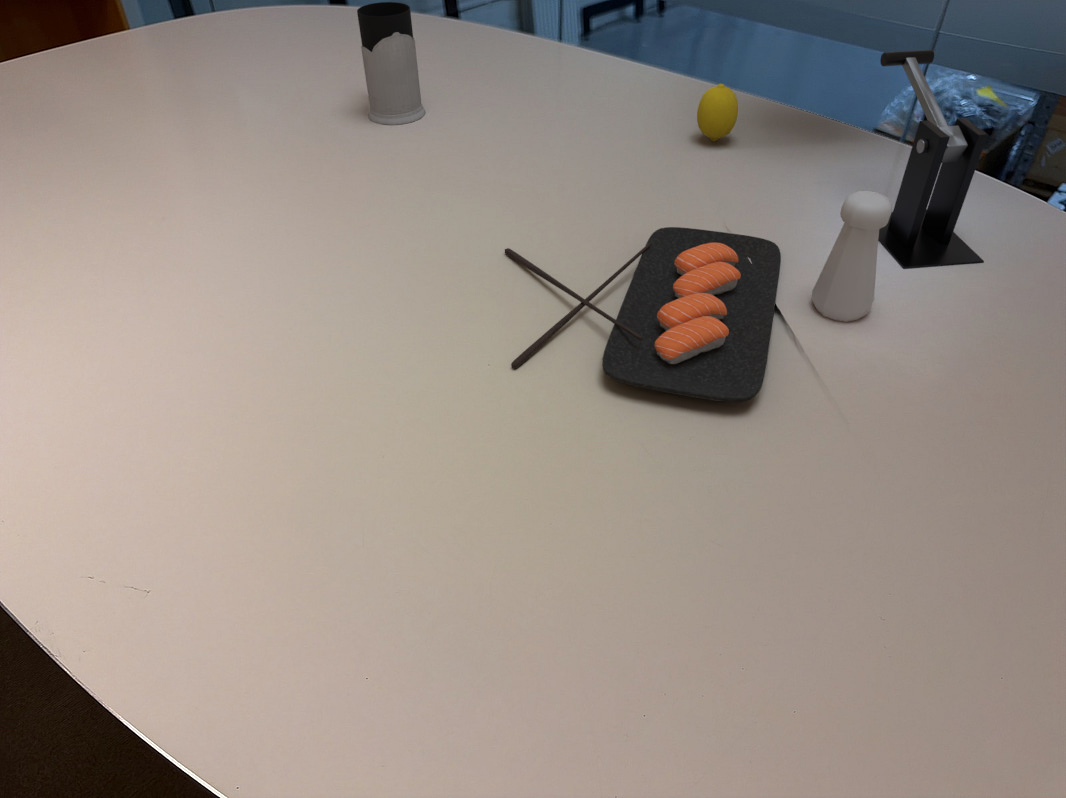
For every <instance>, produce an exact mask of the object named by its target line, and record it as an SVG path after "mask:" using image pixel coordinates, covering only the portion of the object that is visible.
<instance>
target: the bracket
mask: <svg viewBox="0 0 1066 798" xmlns="http://www.w3.org/2000/svg"><path fill="white" fill-rule="evenodd" d="M953 126H959V127H960V130H961V132H962V134H963V136H964V138H965V140H966V142H967V144H968V146H967V148H966V149H965V150H964V152H963V153H962V155H961V156H960V158H959V159H958V161H957V162H947V163H942V160H943V157H944V153H945V150H946V147H947V144H948V141H949V138H950V137H949V136H948V135H947V134H945V133H944V132H943V131H942V130H940V129H939V128H938V127H937V126H935V125H934V124H933V123H931V122H930V121H929V120H927V119H926V120H919V123H918V126H917V129H916V133H915V136H914V139H913V143H912V146H911V150H910V152H909V156H908V160H907V163H906V166H905V168H904V169H905V170H904V173H903V177H902V180H901V183H900V187H899V189H898V193H897V196H896V199H895V203H894V205H893V206H894V207H893V209H892V212H891V215H890V218H889V221H888V223H887V225H886V226H884V227H882V228H880V229H879V238H878V243H880V245H881V246H882V247H883V248H884V249H885V250H886V251H887V252H888V254H889V255H890V256H891V257H892V258H893V259H894V261H895V262H897V264H898V265H899V266H900V267H901V269H903V270H908V269H909V270H910V269H911V270H912V269H922V268H935V267H936V268H937V267H949V266H950V267H951V266H961V265H974V264H984V263H985V261H984V260H983V258H982V257H980V256H979V255H978V254H977V253H976V251H974V250H973V249H972V248H971V247H970V246H969V245H968V244H967V243H966V242H965V241H964V240H963V239H962V238H960V236H959V235H958V234H957V233H956V232H954V230H955V228H956V225H957V223H958V219H959V216H960V214H961V212H962V209H963V207H964V203H965V200H966V197H967V195H968V191H969V189H970V186H971V184H972V180H973V177H974V175H975V172H976V169H977V166H978V163H979V161H980V158H981V156H982V152H983V149H984V147H985V144H986V141H987V138H988V133H986V132H985V131H984V130H982V129H981V128H980V127H978V126H977V125H976V124H975V123H973V122H972V121H970V120H968V118H966V117H959V118H956V119H955V122H954V125H953Z"/></svg>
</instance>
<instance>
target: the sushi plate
mask: <svg viewBox="0 0 1066 798" xmlns="http://www.w3.org/2000/svg"><path fill="white" fill-rule="evenodd" d="M504 254H505V255H506V256H507V257H509V258H510V259H512V260H514V261H515V262H516V263H518V264H520V265H521V266H523V267H525V268H526V269H528V270H529V271H531V272H532V273H534V274H536V275H537V276H539V277H540V278H542V279H544V281H547V282H548V283H550V284H552V285H553V286H555V287H556V288H558V289H559V290H561V291H563V292H564V293H566V294H568V295H569V296H570V297H572V298H574V299H575V300H577V301H578V302H580V303H579V304H578V305H576V306H575V307H574V308H572V310H571V311H569V312H568V313H567V314H566V315H564V316H563V317H562V318H561V319H560V320H558V321H557V322H556V323H555V324H554V325H552V326H551V327H550V328H549V329H548V330H547V331H545V332H544V333H543V334H542V335H541V336H540V337H539V338H537V339H536V340H535V341H534V342H533V343H531V344H530V345H529V346H528V347H527V348H526V349H525V350H524V351H523V352H522V353H521V354H519V355H518V356H517V357H516V358H514V360H512V361H511V363H510V365H511V368H512V369H513V370H517V369H518V368H520V367H521V366H522V365H523V364H524V363H525V362H527V360H529V359H530V357H532V356H533V355H534V354H535V353H536V352H537V351H538V350H539V349H540V348H542V347H543V346H544V345H545V344H546V343H547V342H548V341H549V340H550V339H552V337H554V335H556V334H557V333H558V332H559V331H560V330H561V329H562V328H563V327H564V326H565V325H567V323H569V322H570V320H571V319H573V318H574V317H575V316H576V315H578V313H580V311H581V310H582V309H583V308H584V307H585V306H586V307H588V308H589V309H591V310H592V311H594V312H595V313H597V314H599V315H600V316H601V317H603V318H604V319H606V320H608V321H609V322H611V323H612V324H613V326H612V329H611V331H610V334H609V337H608V340H607V342H606V345H605V348H604V351H603V356H602V370H603V372H604V374H605V376H606V377H608V378H610V379H611V380H614V381H616V382H617V383H622V384H625V385H629V386H632V387H636V388H641V389H646V390H652V391H657V392H661V393H662V392H663V393H668V394H673V395H679V396H683V397H684V396H685V397H691V398H695V399H696V398H697V399H702V400H703V399H704V400H708V401H716V402H725V403H726V402H727V403H740V402H747V401H751V400H752V399H754V398H755V397H756V396H757V395H758V393H759V392H760V390H761V389H762V386H763V384H764V379H765V375H766V369H767V363H768V358H769V357H768V356H769V351H770V342H771V335H772V328H773V321H774V314H775V309H776V308H775V307H776V300H777V293H778V286H779V279H780V272H781V261H782V260H781V259H782V255H781V254H782V253H781V250H780V247H779V246H778V244H776V242H773V241H771V240H769V239H766V238H763V237H757V236H753V235H752V236H751V235H747V234H746V235H745V234H739V233H731V232H723V231H716V230H707V229H700V228H691V227H679V226H676V227H675V226H669V227H667V226H666V227H660V228H658V229H656V230H655V231H653V233H651V235H650V236H649V238H648V239H647V241H646V243H645V246H644V247H643V248H642V249H640V251H638V252H637V253H636V254H634V256H633V257H632V258H630V259H629V260H627V262H626V263H625V264H623V265H622V266H621V267H620V268H619V269H618V270H616V271H615V272H614V273H613V274H612V275H611V276H610V277H609V278H608V279H606V280H605V281H604V282H603V283H602V284H601V285H600V286H599V287H597V288H596V289H595V290H594V291H592V292H591V293H590V294H589V295H588V296H587V297H586V298H583V297H582V296H580V295H579V294H578V293H576V292H574V291H573V290H571V288H568V287H567V286H566V285H565V284H563V283H562V282H560V281H559V280H557V279H556V278H554V277H552V276H551V275H550V274H548V273H547V272H546V271H545V270H543V269H541V268H540V267H538V266H537V265H535V264H534V263H532V262H530V261H529V260H528V259H526V258H525V257H523V256H522V255H520V254H519V253H517V252H516V251H514V250H513V249H511V248H510V247H509V248H508V247H507V248H504ZM639 257H640V258H639ZM638 258H639V261H638V263H637V264H636V265H637V266H636V268H635V270H634V273H633V276H632V278H631V280H630V283H629V286H628V287H627V288H628V289H627V291H626V293H625V295H624V299H623V301H622V304H621V306H620V309H619V311H618V313H617V317H616V319H615V318H614V317H612V316H611V315H609V314H608V313H606V312H605V311H603V310H601V309H600V308H599V307H597V306H596V305H594V304H593V303H592V302H591V301H592V300H593V299H594V298H595V297H596V296H598V295H599V294H600V293H601V292H602V291H603V290H604V289H605V288H606V287H607V286H608V285H610V283H612V282H613V281H614V280H615V279H616V278H617V277H618V276H619V275H621V274H622V273H623V272H624V271H625V270H626V269H627V268H628V267H629V266H630V265H631V264H632V263H634V262H635V261H636V260H637V259H638Z"/></svg>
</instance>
